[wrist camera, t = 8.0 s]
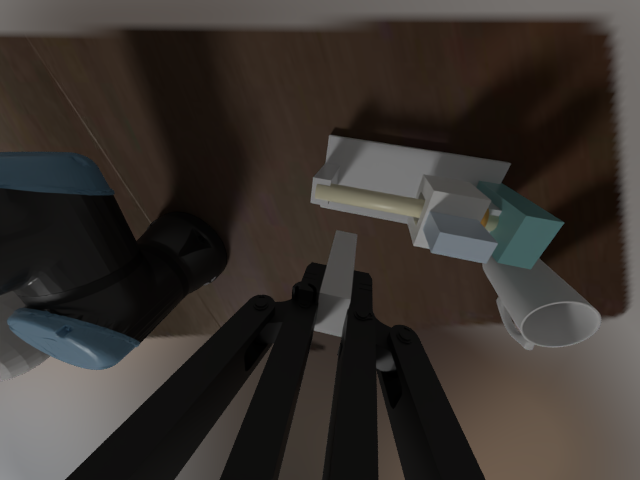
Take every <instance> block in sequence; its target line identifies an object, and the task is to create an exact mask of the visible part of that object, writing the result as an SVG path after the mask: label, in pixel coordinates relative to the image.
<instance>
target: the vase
mask: <svg viewBox="0 0 640 480" xmlns="http://www.w3.org/2000/svg"><path fill="white" fill-rule="evenodd" d="M23 307H25V304H24V303H23V301H22V300H21V299H20V298H19V297H18V296H17V295H16V294H15V293H14V291H11V292H8V293H5V294H3V295H0V381H5V380H10V379H12V378H14V377H17V376H19V375H22V374H24V373H26V372H28V371H30V370H31V369H33V368H35V367H36V366H38V365H40V364H41V363H42V362H44V361H45V360H46V359H47V358H49V357H50V355H48V354H46V353H44V352H42V351H40V350H38V349H36V348H35V347H33V346H31V345H30V344H28V343H26V342H25V341H23V340H22V339H21V338H19V337H18V336H17V335H16V334H14V333H13V332H12V331H11V330H10V328H9V326H10V325H8V324H7V319H8V318H9V317H10V316H11V315H12V314H13V313H14V311H15V310H17V309H19V308H23Z"/></svg>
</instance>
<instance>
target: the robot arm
mask: <svg viewBox="0 0 640 480" xmlns="http://www.w3.org/2000/svg"><path fill="white" fill-rule="evenodd" d="M113 194H115V193H114V190H112V189H110V187H109V185H108V184H107V182H106V180H105V178H104V177H103V175H102V173H101V171H100V170H99V168H98V166H97V165H96V164H95V163H94V162H93V161H92V160H91V159H89V158H88V157H86V156H83V155H80V154H77V153H69V152H0V295H3V294H5V293H8V292H11V291H14V293H15V294H16V295H17V296H18V297H19V298H20V299H21V300H22V301H23V303H24V304H25V307H23V308H19V309H17V310H15V311H14V313H13V314H12V315H11V316H10V317H9V318H8V319H7V324H8V325H10V326H9V328H10V330H11V331H12V332H13V333H14V334H16V335H17V336H18V337H19V338H21V339H22V340H23V341H25V342H26V343H28V344H30V345H31V346H33V347H35V348H36V349H38V350H40V351H42V352H44V353H46V354H48V355H50V356H52V357H54V358H56V359H59V360H61V361H63V362H66V363H69V364H71V365H74V366H78V367H81V368H86V369H91V370H102V369H107V368H110V367H112V366H114V365H116V364H117V363H118V362H119V361H121V360H122V359H123V358H124V357H125V356H126V355H127V354H128V353H129V352H130V351H132V350H133V349H134V348H135V347H137V346H139V344H140V343H141V342H142V341H143V340H144V339H145V338H146V337H147V336H148V335H149V334H150V333H151V332H152V331H153V330H154V328H155V327H156V326H157V325H158V324H159V323H160V322H161V321H162V320H163V319H164V318H165V317H166V316H167V315H168V314H169V313H170V312H171V311H172V310H173V309H174V308H175V307H176V306H177V305H178V304H179V303H180V301H181V300H182V299H183V298H185V296H187V295H188V294H189V293H191V292H193V291H195V290H197V289H199V288H200V287H202V286H203V285H207V284H209V283H211V282H213V281H214V280H215V279H216V278H217V277H218V276H219V275H220V274H221V273H222V272H223V271H224V269H225V266H226V262H227V256H226V251H225V248H224V245H223V243H222V241H221V240H220V238H219V237H218V235H217V234H216V233H215V231H214V230H213V229H212V228H211V227H210V226H208V225H207V224H206V223H205V222H203V221H202V220H200V219H198V218H197V217H194V216H192V215H190V214H186V213H181V212H172V213H168V214H165V215H163V216H162V217H160V218H158V219H156V220H155V221H153V222H152V223H151V224H150V226H149V227H148V228H147V230H146V232H145V233H144V234H143V235H142V236H141V237H140V238H139V239H138V240H137V241H136V240H135V238H134V236H133V234H132V232H131V230H130V228H129V226H128V224H127V222H126V220H125V217H124V215H123V213H122V211H121V209H120V207H119V205H118V203H117V201H116V199H115V197H114V195H113ZM356 242H357V234H353V233H348V232H343V231H337V230H336V234H335V237H334V241H333V245H332V249H331V252H330V256H329V260H328V263H327V265H323V264H318V263H313V262H312V263H311V264H310V265H308V266H307V268H306V271H305V273H304V276H303V278H302V281H301V282H298V283H296V284H295V285H294V286H293V289H292V299H291V300H288V301H284V302H275V301H274V300H273V298H271V297H270V296H267V295H257V296H254V297H252V298H251V299H250V300H249V301H248V302H247V303H246V304H245V305H243V306H242V307H241V308H240V309H239V310H238V311H237V312H236V313H235V314H234V315H233V316H232V317H231V318H230V319H229V320H228V321H227V322H226V323H225V324H224V325H223V326H222V327H221V328H220V329H219V330H218V331H217V332H216V333H215V334H214V335H213V336H212V337H211V338H210V339H209V340H208V341H207V342H206V343H205V344H204V345H203V346H202V347H200V348H199V349H198V350H197V351H196V352H195V353H194V354H193V355H192V356H191V357H190V358H189V359H188V360H187V361H186V362H185V363H184V364H183V365H182V366H181V367H180V368H179V369H178V370H177V371H176V372H175V373H174V374H173V375H172V376H171V377H170V378H169V379H168V380H167V381H166V382H165V383H164V384H163V385H162V386H161V387H160V388H159V389H157V391H155V393H153V394H152V395H151V396H150V397H149V398H148V399H147V400H146V401H145V402H144V403H143V404H142V405H141V406H140V407H139V408H138V409H137V410H136V411H135V412H134V413H133V414H132V415H131V416H130V417H129V418H128V419H127V420H126V421H125V422H124V423H123V424H122V425H121V426H120V427H119V428H118V429H117V430H115V432H113V433H112V434H111V435H110V436H109V438H107V439H106V440H105V441H104V442H103V443H102V444H101V445H100V446H99V447H98V448H97V449H96V450H95V451H94V452H93V453H92V454H91V455H90V456H89V457H88V458H87V459H86V460H85V461H84V462H83V463H82V464H81V465H80V466H79V467H78V468H77V469H76V470H75V471H74V472H72V474H70V475H69V477H67V478H66V479H65V480H174V479H175V478H176V476H177V475H178V474H179V472H180V471H181V470H182V468H183V467H184V466H185V464H186V463H187V461H188V460H189V459H190V457H191V456H192V454H193V453H194V452H195V450H196V449H197V448H198V446H199V445H200V444H201V442H202V441H203V439H204V438H205V437H206V435H207V434H208V432H209V431H210V430H211V428H212V427H213V426H214V424H215V423H216V421H217V420H218V419H219V417H220V416H221V415H222V413H223V412H224V410H225V409H226V408H227V406H228V405H229V404H230V402H231V401H232V399H233V398H234V397H235V395H236V394H237V393H238V391H239V390H240V388H241V387H242V386H243V384H244V383H245V381H246V380H247V379H248V377H249V376H250V375H251V373H252V372H253V370H254V369H255V368H256V366H257V365H258V363H259V362H260V361H261V359H262V358H263V357H264V355H265V354H266V353H267V351H268V350H269V348H270V347H271V346H272V344H273V343H274V345H273V348H272V350H271V353H270V355H269V358H268V360H267V363H266V365H265V368H264V370H263V373H262V375H261V378H260V380H259V383H258V385H257V388H256V390H255V393H254V395H253V398H252V400H251V403H250V405H249V408H248V410H247V413H246V415H245V418H244V420H243V423H242V425H241V428H240V430H239V433H238V435H237V438H236V440H235V443H234V445H233V448H232V451H231V453H230V456H229V458H228V460H227V463H226V466H225V468H224V470H223V473H222V475H221V478H220V480H278V477H279V473H280V469H281V465H282V461H283V457H284V452H285V448H286V444H287V440H288V436H289V432H290V428H291V424H292V420H293V416H294V412H295V408H296V403H297V399H298V395H299V391H300V387H301V383H302V379H303V375H304V370H305V366H306V362H307V358H308V354H309V350H310V346H311V342H312V337H313V332H314V331H318V332H322V333H327V334H331V335H335V336H340V337H341V336H342V338H341V343H340V347H339V350H338V354H337V355H338V362H337V371H336V378H335V385H334V394H333V401H332V408H331V416H330V423H329V432H328V439H327V446H326V455H325V462H324V469H323V477H322V480H378V435H377V388H376V387H377V384H376V370H377V374H378V378H379V382H380V385H381V389H382V393H383V397H384V400H385V405H386V408H387V412H388V416H389V420H390V424H391V428H392V431H393V435H394V439H395V443H396V447H397V450H398V454H399V458H400V462H401V466H402V470H403V473H404V477H405V480H485V478H484V475H483V473H482V471H481V469H480V467H479V465H478V463H477V460H476V458H475V456H474V454H473V452H472V450H471V448H470V446H469V443H468V441H467V439H466V437H465V435H464V433H463V431H462V429H461V426H460V424H459V422H458V420H457V418H456V416H455V414H454V412H453V410H452V408H451V405H450V403H449V401H448V399H447V397H446V395H445V392H444V390H443V388H442V386H441V384H440V382H439V380H438V378H437V375H436V373H435V371H434V369H433V367H432V365H431V363H430V361H429V358H428V356H427V354H426V353H425V350H424V348H423V346H422V344H421V341H420V339H419V338H418V336H417V334H416V333H415V332H414V331H413V330H412V329H411V328H409V327H407V326H404V325H395V326H393V327H392V328H391V327H389V326H387V325H385V324H383V323H381V322H380V321H379V320H378V319H377V318H376V317H375V316H374V313H373V309H372V278H371V277H370V275H369V273H364V272H359V271H354V262H355V252H356Z"/></svg>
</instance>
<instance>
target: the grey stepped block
mask: <svg viewBox="0 0 640 480" xmlns="http://www.w3.org/2000/svg"><path fill="white" fill-rule="evenodd" d="M415 198H416V199H422V200H426V201H425V203H424V206H423V209H422V212H421V214H420V217H419V218H416V217H411V216H409V217H408V220H407V223H408V227H409V231H410V235H411V238H412V242H413V246H418V247H423V248H428V249H430V251H431V253H435V254H440V255H445V256H450V257H455V258H460V259H465V260H470V261H475V262H479V263H484V264H486V263H487V262H488V260H489V258H490V256H491V255H492V253H493V251H494V250H495V248H496V246H497V245H498V242H497V241H496V240H495V239H494V238H493V237H492V236H491V234H490V233H489V232H488V231H487V230H486V229H485V228H484V226H483V225H482V224H481V223H480V222H481V220H482V218H483V216H484V214H485V213H486V211H487V209H488V207H489V205H490V203H491V201H492V200H490V199H489V198H488V197H487V196H486V195H484V194H483V193H482V192H481V191H480V190H478V189H477V188H476V187H475V186H474V185H472V184H471V183H470V182H466V181H461V180H455V179H449V178H443V177H437V176H431V175H425V174H423V176H422V179H421V182H420V185H419V188H418V191H417V194H416V197H415Z"/></svg>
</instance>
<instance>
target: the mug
mask: <svg viewBox="0 0 640 480" xmlns="http://www.w3.org/2000/svg"><path fill="white" fill-rule="evenodd" d="M482 266H483V270H484V272H485V273H486V275H487V277H488V279H489V281H490V282H491V284H492V286H493V287H494V289H495V291H496V292H497V294H498V296H499V297H498V298H497V305H498V308H499V311H500V315H501V318H502V320H503V323H504V325H505V327H506V329H507V331H508V332H509V334H510V335H511V336H512V337H513V338H514V339H515V340H516V341H517V342H518V343H520V344H521V345H522V346H523V347H524V349H527V350H532V349H533V347H534V346H535V345H538V346H543V347H565V346H570V345H574V344H577V343H579V342H582V341H584V340H586V339H588V338H589V337H591V336H592V335H593V334H594V333H595V332H596V331H597V330H598V329H599V327H600V324H601V316H600V313H599V312H598V311H597V310H596V309H595V308H594V307H593V306H592V305H591V304H589V303H588V302H587V301H586V300H585V299H584V298H583V297H582V296H581V295H580V294H579V293H577V292H576V291H575V290H574V289H573V288H572V287H571V286H570V285H568V284H567V283H566V282H565V281H564V280H563V279H562V278H561V277H559V276H558V275H557V274H556V273H555V272H554V271H553V270H552V269H550V268H549V267H548V266H547V265H546V264H545V263H544V262H543V261H542V260H541V259H538V260H537V262H536V263H535V264H534V266H533V267H532V268H531V269H526V268H521V267H516V266H511V265H506V264H501V263H497V262H496V261H495V259H494V258H493V257H492V255H491V256H490V258H489V260H488V262H487V263H486V264H484V263H483V264H482ZM511 318H512V319H513V321H514V323H515V324H516V326H517V327H518V329H519V330H520V332H521V333H520V332H519V331H517V329H516V328H515V326H514V325H513V322H512V320H511Z"/></svg>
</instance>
